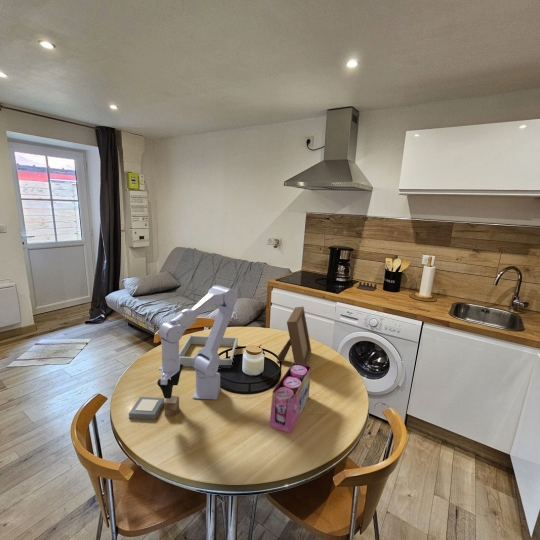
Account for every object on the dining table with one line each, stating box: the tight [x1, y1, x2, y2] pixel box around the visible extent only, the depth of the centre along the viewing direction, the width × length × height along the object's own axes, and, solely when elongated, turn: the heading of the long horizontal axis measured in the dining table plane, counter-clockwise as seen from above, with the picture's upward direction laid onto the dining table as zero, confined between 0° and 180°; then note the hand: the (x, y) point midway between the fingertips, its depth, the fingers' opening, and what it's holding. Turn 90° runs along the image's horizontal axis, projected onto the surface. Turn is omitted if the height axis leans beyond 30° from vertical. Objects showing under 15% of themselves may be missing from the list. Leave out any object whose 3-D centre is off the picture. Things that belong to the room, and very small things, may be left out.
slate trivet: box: [128, 396, 165, 420], centre depth 106 cm, size 9×9×2 cm
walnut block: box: [163, 395, 180, 416], centre depth 106 cm, size 4×4×5 cm
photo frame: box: [276, 306, 312, 366], centre depth 145 cm, size 15×22×25 cm
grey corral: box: [179, 334, 238, 368], centre depth 147 cm, size 26×24×4 cm
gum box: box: [269, 361, 312, 434], centre depth 108 cm, size 24×8×14 cm, turn 156°
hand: (171, 391), depth 105 cm, fingers open, 7 cm apart
